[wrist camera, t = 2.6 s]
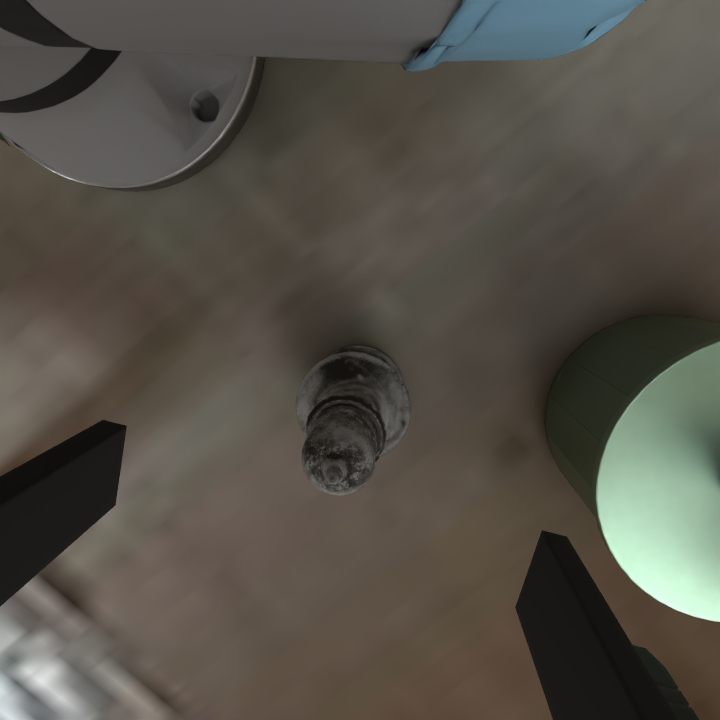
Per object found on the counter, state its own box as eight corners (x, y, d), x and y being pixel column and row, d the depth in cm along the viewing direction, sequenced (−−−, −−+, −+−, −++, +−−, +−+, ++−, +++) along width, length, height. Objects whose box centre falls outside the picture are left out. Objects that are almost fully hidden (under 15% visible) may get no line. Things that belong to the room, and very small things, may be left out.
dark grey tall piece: (362, 457, 30) (340, 587, 18) (287, 393, 30) (215, 484, 18) (430, 386, 29) (453, 476, 17) (353, 318, 28) (321, 363, 17)
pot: (518, 358, 28) (568, 401, 20) (725, 283, 27) (873, 297, 18) (578, 530, 30) (647, 636, 22) (775, 470, 28) (930, 559, 20)
